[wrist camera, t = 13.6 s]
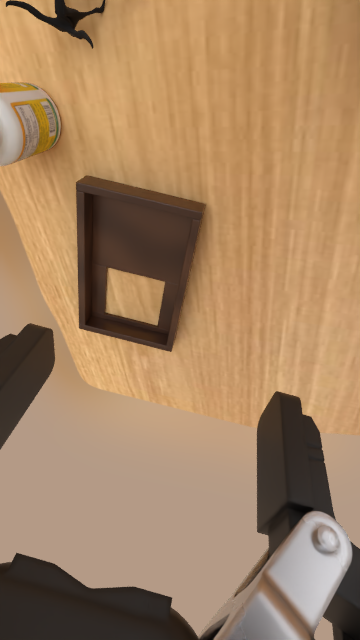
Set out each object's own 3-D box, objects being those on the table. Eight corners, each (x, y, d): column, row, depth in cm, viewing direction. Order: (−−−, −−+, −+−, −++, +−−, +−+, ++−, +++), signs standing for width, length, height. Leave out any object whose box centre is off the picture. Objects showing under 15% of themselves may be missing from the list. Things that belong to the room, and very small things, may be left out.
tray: (86, 175, 32) (75, 181, 30) (205, 203, 32) (202, 212, 30) (86, 316, 43) (78, 328, 41) (175, 339, 43) (171, 352, 41)
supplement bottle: (73, 119, 30) (12, 136, 22) (44, 163, 32) (-19, 191, 25) (22, 65, 28) (-64, 63, 20) (-5, 116, 30) (-89, 131, 23)
